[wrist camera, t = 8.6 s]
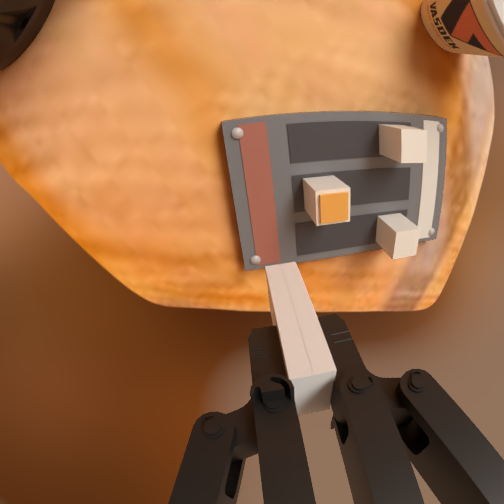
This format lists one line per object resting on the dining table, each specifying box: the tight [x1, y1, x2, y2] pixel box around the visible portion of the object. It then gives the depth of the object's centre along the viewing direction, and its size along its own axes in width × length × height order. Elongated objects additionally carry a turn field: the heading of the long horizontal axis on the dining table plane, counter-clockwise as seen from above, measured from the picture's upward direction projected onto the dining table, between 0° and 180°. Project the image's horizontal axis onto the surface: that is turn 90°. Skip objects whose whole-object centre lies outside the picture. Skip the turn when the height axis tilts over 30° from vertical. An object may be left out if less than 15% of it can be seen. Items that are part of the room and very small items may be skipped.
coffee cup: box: [421, 0, 504, 58], centre depth 12 cm, size 9×9×12 cm
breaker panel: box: [221, 111, 447, 271], centre depth 24 cm, size 24×15×6 cm, turn 97°
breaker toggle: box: [303, 175, 350, 226], centre depth 23 cm, size 3×3×4 cm
